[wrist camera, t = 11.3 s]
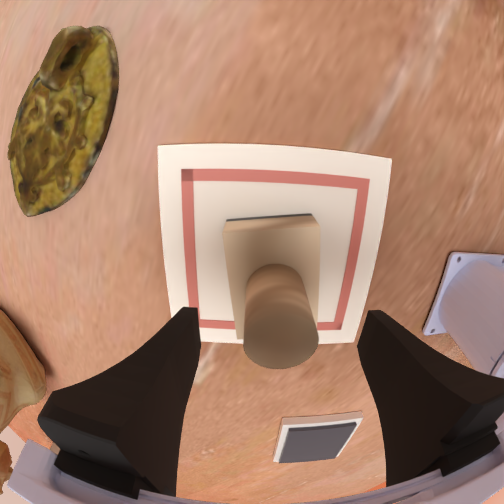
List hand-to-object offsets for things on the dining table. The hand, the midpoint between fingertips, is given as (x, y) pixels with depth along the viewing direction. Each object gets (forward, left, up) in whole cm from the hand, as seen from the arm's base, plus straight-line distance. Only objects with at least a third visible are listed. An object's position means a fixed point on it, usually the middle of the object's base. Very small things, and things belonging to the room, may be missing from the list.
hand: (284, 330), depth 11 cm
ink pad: (-7, +24, -7) cm, 26 cm away
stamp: (0, +1, -7) cm, 7 cm away
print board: (0, 0, -7) cm, 7 cm away
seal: (+15, -10, -8) cm, 20 cm away
